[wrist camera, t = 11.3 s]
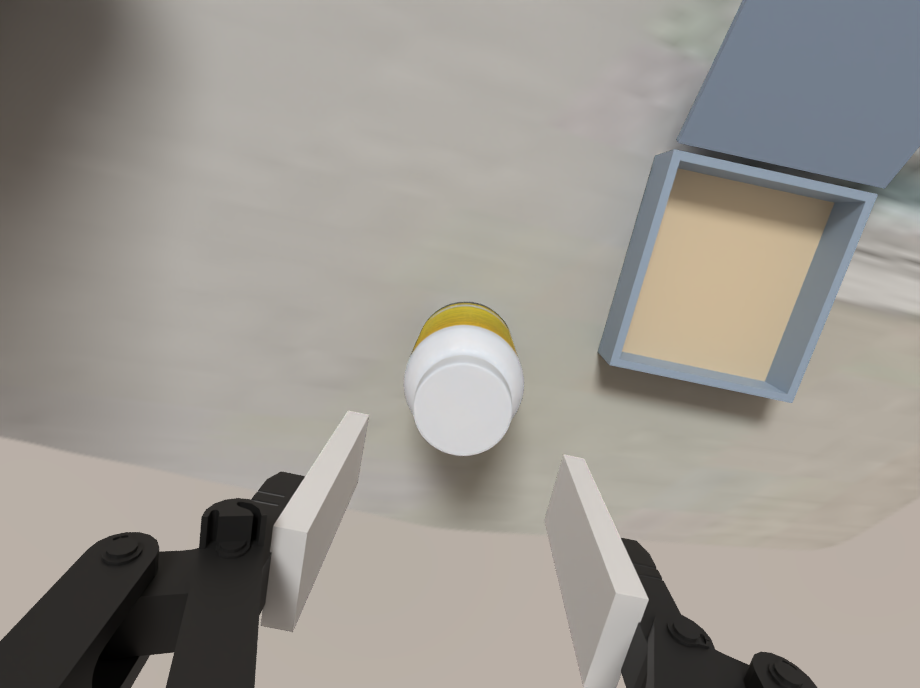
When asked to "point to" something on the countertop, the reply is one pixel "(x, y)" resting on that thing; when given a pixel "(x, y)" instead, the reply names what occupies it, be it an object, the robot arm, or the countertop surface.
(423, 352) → the pill bottle
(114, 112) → the countertop surface
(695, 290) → the box
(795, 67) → the lid
